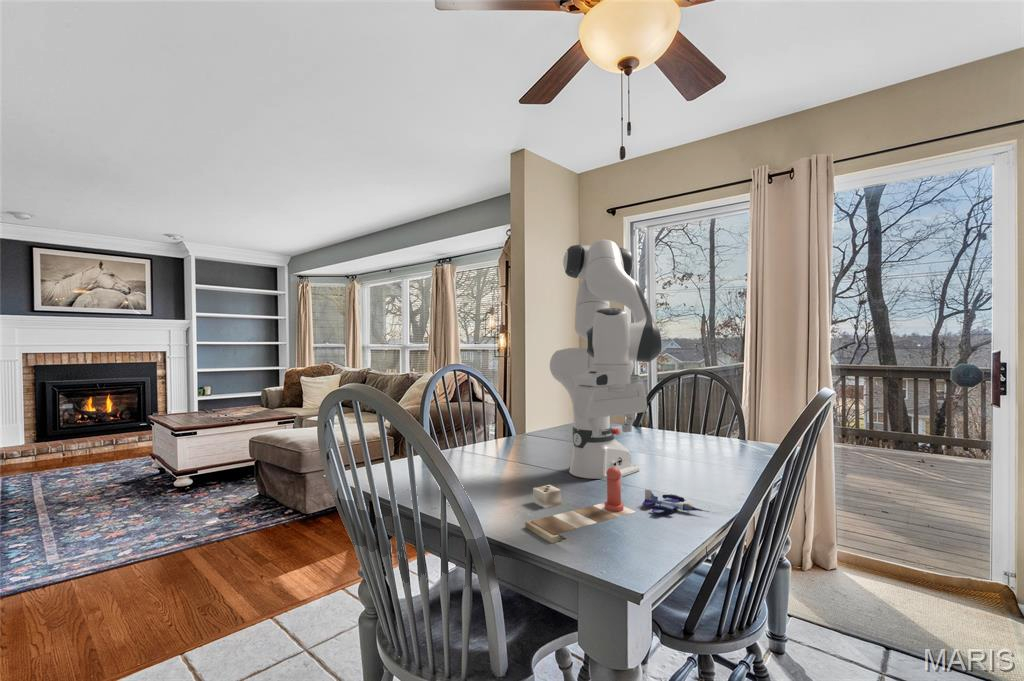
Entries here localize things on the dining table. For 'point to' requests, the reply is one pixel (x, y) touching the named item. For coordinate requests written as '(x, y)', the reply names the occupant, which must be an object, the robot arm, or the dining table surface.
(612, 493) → the pawn
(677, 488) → the dining table surface
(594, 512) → the track board
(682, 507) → the toy airplane
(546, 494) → the die
